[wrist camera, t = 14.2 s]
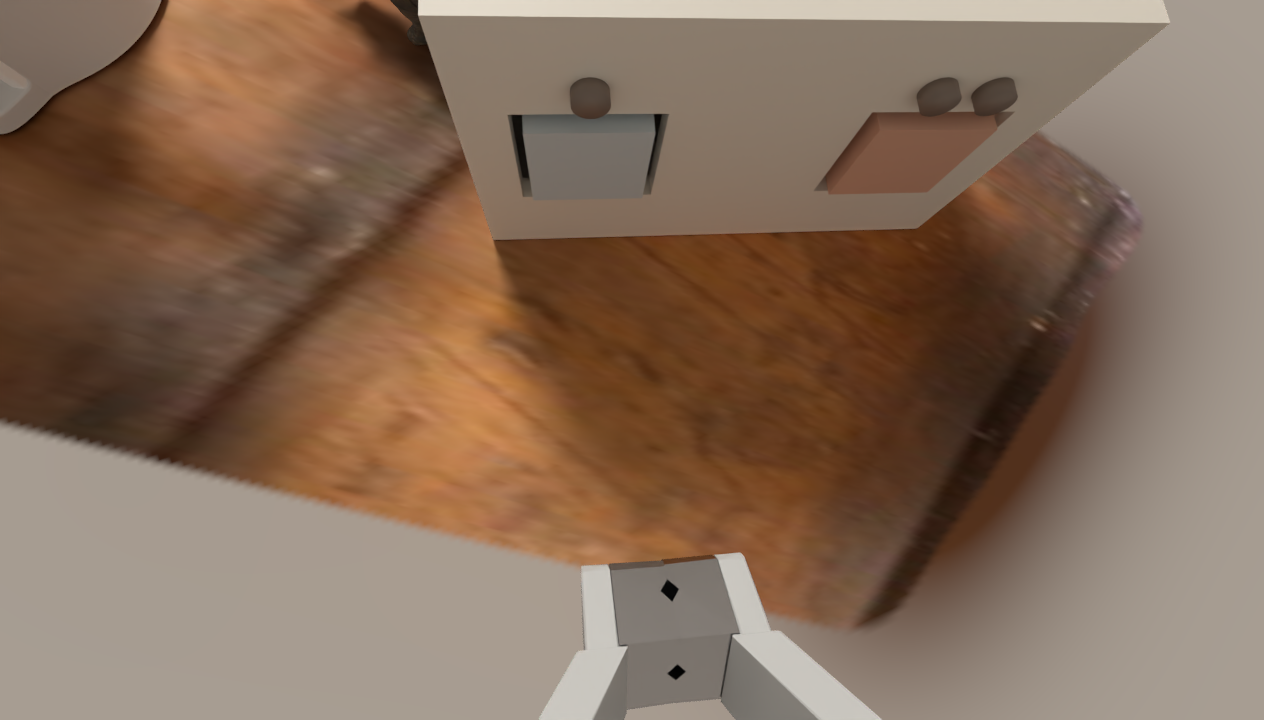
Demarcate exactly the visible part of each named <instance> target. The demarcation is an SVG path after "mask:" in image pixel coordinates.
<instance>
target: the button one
mask: <svg viewBox="0 0 1264 720" xmlns="http://www.w3.org/2000/svg"><path fill="white" fill-rule="evenodd" d="M522 123H523V138H524V145H525V151H526V157H527V164H528V170H529V176H530V183H531V189H532V195H533V200H577V199H625V198H642V196H643V192H644V187H645V182H646V177H647V172H648V167H649V162H650V157H651V152H652V147H653V142H654V137H655V122H654V114H606V115H604V116H602V117H600V118H596V119H585V118H581V117H579V116H577V115H575V114H537V115H522Z"/></svg>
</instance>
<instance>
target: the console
mask: <svg viewBox="0 0 1264 720" xmlns="http://www.w3.org/2000/svg"><path fill="white" fill-rule="evenodd" d="M418 17H419V20H420V23H421V26H422V29H423V32H424V35H425V38H426V41H427V44H428V47H429V50H430V53H431V56H432V59H433V62H434V65H435V68H436V71H437V74H438V77H439V80H440V83H441V86H442V89H443V92H444V95H445V98H446V101H447V104H448V107H449V109H450V112H451V115H452V118H453V121H454V124H455V127H456V130H457V133H458V136H459V139H460V142H461V145H462V148H463V151H464V154H465V157H466V160H467V163H468V166H469V169H470V172H471V175H472V178H473V181H474V184H475V187H476V190H477V193H478V196H479V199H480V202H481V205H482V208H483V211H484V214H485V217H486V220H487V223H488V226H489V229H490V232H491V235H492V238H493V240H514V239H552V238H589V237H626V236H663V235H700V234H737V233H774V232H812V231H849V230H886V229H917V228H918V227H920V226H921V225H922V224H923V223H925V222H926V221H927V220H928V219H930V218H931V217H932V216H933V215H934V214H936V213H937V212H938V211H939V210H941V209H942V208H943V207H944V206H946V205H947V204H948V203H949V202H950V201H952V200H953V199H954V198H955V197H957V196H958V195H959V194H960V193H962V192H963V191H964V190H965V189H966V188H968V187H969V186H970V185H971V184H973V183H974V182H975V181H976V180H978V179H979V178H980V177H981V176H983V175H984V174H985V173H986V172H987V171H989V170H990V169H991V168H992V167H994V166H995V165H996V164H997V163H999V162H1000V161H1001V160H1002V159H1003V158H1005V157H1006V156H1007V155H1008V154H1010V153H1011V152H1012V151H1013V150H1015V149H1016V148H1017V147H1018V146H1019V145H1021V144H1022V143H1023V142H1024V141H1026V140H1027V139H1028V138H1029V137H1031V136H1032V135H1033V134H1034V133H1035V132H1037V131H1038V130H1039V129H1040V128H1042V127H1043V126H1044V125H1045V124H1047V123H1048V122H1049V121H1050V120H1051V119H1053V118H1054V117H1055V116H1056V115H1058V114H1059V113H1060V112H1061V111H1062V110H1064V109H1065V108H1066V107H1067V106H1069V105H1070V104H1071V103H1072V102H1074V101H1075V100H1076V99H1077V98H1078V97H1080V96H1081V95H1082V94H1084V93H1085V92H1086V91H1087V90H1088V89H1090V88H1091V87H1092V86H1093V85H1095V84H1096V83H1097V82H1098V81H1100V80H1101V79H1102V78H1103V77H1104V76H1105V75H1107V74H1108V73H1109V72H1111V71H1112V70H1113V69H1114V68H1116V67H1117V66H1118V65H1119V64H1120V63H1121V62H1123V61H1124V60H1125V59H1127V58H1128V57H1129V56H1130V55H1131V54H1133V53H1134V52H1135V51H1136V50H1138V49H1139V48H1140V47H1141V46H1142V45H1144V44H1145V43H1146V42H1148V41H1149V40H1150V39H1151V38H1153V37H1154V36H1155V35H1156V34H1157V33H1159V32H1160V31H1161V30H1162V29H1163V28H1165V27H1166V26H1167V25H1169V24H1170V20H1169V17H1168V14H1167V11H1166V8H1165V5H1164V2H1163V0H418ZM872 112H920V114H921V115H923V116H927V117H931V116H937V115H941V114H944V113H946V112H975V114H976V115H978V116H990V115H994V116H995V120H996V124H997V129H998V130H997V131H995V132H994V133H993V134H992V135H991V136H990V137H989V138H988V139H986V140H985V141H984V142H983V143H982V144H981V145H980V146H979V147H977V148H976V149H975V150H974V151H973V152H972V153H971V154H970V155H969V156H967V157H966V158H965V159H964V160H963V161H962V162H961V163H960V164H958V165H957V166H956V167H955V168H954V169H953V170H952V171H951V172H949V173H948V174H947V175H946V176H945V177H944V178H943V179H942V180H940V181H939V182H938V183H937V184H936V185H935V186H934V187H933V188H932V189H930V190H929V191H928V192H924V193H876V194H828V188H827V182H826V174H827V172H828V171H829V170H830V168H831V167H832V165H833V164H834V163H835V161H836V160H837V159H838V157H839V156H840V155H841V153H842V152H843V151H844V149H845V148H846V147H847V145H848V144H849V143H850V141H851V140H852V139H853V137H854V136H855V135H856V133H857V132H858V131H859V129H860V128H861V127H862V125H863V124H864V123H865V121H866V120H867V119H868V117H869V116H870V115H871V113H872ZM537 114H575V115H577V116H579V117H581V118H585V119H596V118H600V117H602V116H604V115H606V114H654V122H655V137H654V142H653V147H652V152H651V157H650V162H649V167H648V172H647V177H646V182H645V187H644V192H643V196H642V198H625V199H577V200H533V195H532V189H531V183H530V176H529V170H528V164H527V157H526V151H525V145H524V138H523V123H522V115H537Z"/></svg>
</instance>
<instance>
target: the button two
mask: <svg viewBox="0 0 1264 720" xmlns="http://www.w3.org/2000/svg"><path fill="white" fill-rule="evenodd" d="M997 130H998V129H997V124H996V120H995V116H994V115H990V116H978V115H976V114H975V112H946V113H944V114H941V115H937V116H931V117H927V116H923V115H921V114H920V112H872V113H871V115H870V116H869V117H868V119H867V120H866V121H865V123H864V124H863V125H862V127H861V128H860V129H859V131H858V132H857V133H856V135H855V136H854V137H853V139H852V140H851V141H850V143H849V144H848V145H847V147H846V148H845V149H844V151H843V152H842V153H841V155H840V156H839V157H838V159H837V160H836V161H835V163H834V164H833V165H832V167H831V168H830V170H829V171H828V172H827V174H826V182H827V188H828V194H876V193H924V192H928V191H929V190H930V189H932V188H933V187H934V186H935V185H936V184H937V183H938V182H939V181H940V180H942V179H943V178H944V177H945V176H946V175H947V174H948V173H949V172H951V171H952V170H953V169H954V168H955V167H956V166H957V165H958V164H960V163H961V162H962V161H963V160H964V159H965V158H966V157H967V156H969V155H970V154H971V153H972V152H973V151H974V150H975V149H976V148H977V147H979V146H980V145H981V144H982V143H983V142H984V141H985V140H986V139H988V138H989V137H990V136H991V135H992V134H993V133H994V132H995V131H997Z"/></svg>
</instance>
